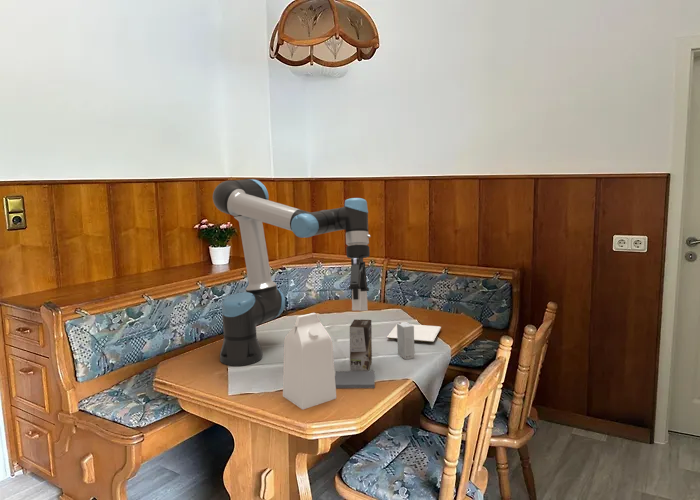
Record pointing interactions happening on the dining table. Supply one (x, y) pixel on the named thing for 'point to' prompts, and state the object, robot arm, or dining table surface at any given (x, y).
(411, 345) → the skincare box
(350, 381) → the mat
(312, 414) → the dining table surface
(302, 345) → the milk
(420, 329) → the plate
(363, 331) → the coffee box
